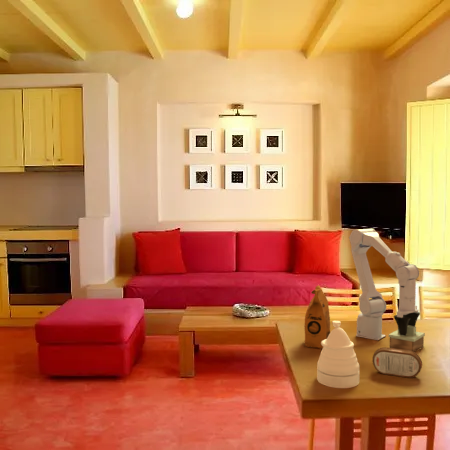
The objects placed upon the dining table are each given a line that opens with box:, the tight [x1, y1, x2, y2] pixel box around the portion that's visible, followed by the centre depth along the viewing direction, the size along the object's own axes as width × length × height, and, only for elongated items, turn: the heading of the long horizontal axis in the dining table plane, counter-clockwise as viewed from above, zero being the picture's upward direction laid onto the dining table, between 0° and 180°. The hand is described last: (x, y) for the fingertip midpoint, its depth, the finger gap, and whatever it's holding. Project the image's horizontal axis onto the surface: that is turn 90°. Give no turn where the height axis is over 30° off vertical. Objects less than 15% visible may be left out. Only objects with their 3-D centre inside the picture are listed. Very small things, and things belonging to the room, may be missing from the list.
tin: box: [371, 346, 423, 379], centre depth 160 cm, size 15×3×8 cm, turn 64°
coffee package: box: [303, 285, 331, 349], centre depth 194 cm, size 10×12×22 cm
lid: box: [388, 325, 426, 342], centre depth 189 cm, size 10×11×5 cm
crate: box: [389, 336, 425, 353], centre depth 189 cm, size 9×10×4 cm
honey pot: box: [316, 320, 360, 389], centre depth 156 cm, size 13×13×18 cm
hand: (406, 332), depth 189 cm, fingers open, 7 cm apart
